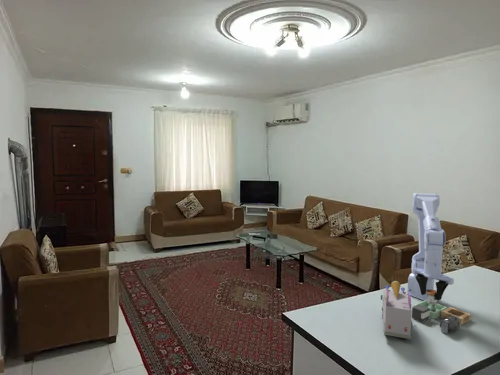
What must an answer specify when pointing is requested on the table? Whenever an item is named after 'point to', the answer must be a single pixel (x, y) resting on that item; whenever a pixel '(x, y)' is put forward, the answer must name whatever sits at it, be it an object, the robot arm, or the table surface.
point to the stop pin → (431, 300)
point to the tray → (433, 314)
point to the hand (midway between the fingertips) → (430, 297)
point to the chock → (420, 312)
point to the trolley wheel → (449, 324)
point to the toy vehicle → (396, 312)
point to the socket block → (456, 314)
